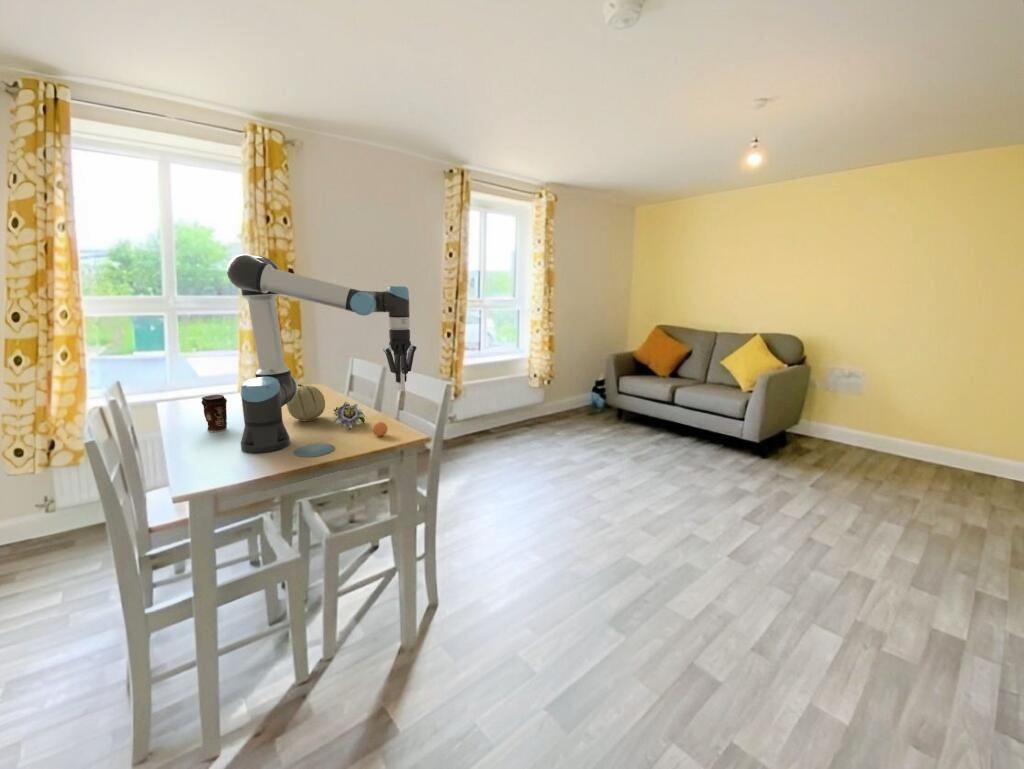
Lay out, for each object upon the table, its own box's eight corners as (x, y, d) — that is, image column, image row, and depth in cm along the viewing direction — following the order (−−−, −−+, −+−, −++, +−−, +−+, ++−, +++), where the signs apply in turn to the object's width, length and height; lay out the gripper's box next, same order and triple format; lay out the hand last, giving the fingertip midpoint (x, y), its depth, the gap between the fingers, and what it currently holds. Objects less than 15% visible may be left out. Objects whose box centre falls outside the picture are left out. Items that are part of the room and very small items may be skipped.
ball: (374, 439, 173) (373, 424, 172) (371, 434, 178) (370, 420, 177) (389, 437, 176) (388, 423, 175) (385, 432, 180) (385, 419, 179)
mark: (295, 459, 152) (295, 458, 152) (292, 447, 163) (292, 446, 163) (337, 453, 158) (337, 452, 158) (332, 441, 169) (332, 441, 169)
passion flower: (351, 441, 186) (334, 422, 178) (340, 430, 194) (323, 411, 186) (374, 423, 190) (358, 403, 182) (363, 412, 197) (347, 392, 189)
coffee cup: (199, 430, 179) (195, 397, 176) (221, 424, 186) (217, 393, 183) (212, 434, 175) (208, 400, 172) (234, 428, 182) (231, 395, 179)
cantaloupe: (317, 425, 187) (314, 389, 184) (281, 424, 188) (277, 388, 184) (332, 415, 202) (330, 381, 199) (298, 414, 202) (295, 380, 199)
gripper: (388, 330, 167) (390, 394, 172) (420, 328, 176) (421, 389, 181) (378, 328, 173) (381, 391, 178) (409, 326, 181) (411, 386, 187)
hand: (401, 390), depth 180 cm, fingers closed
